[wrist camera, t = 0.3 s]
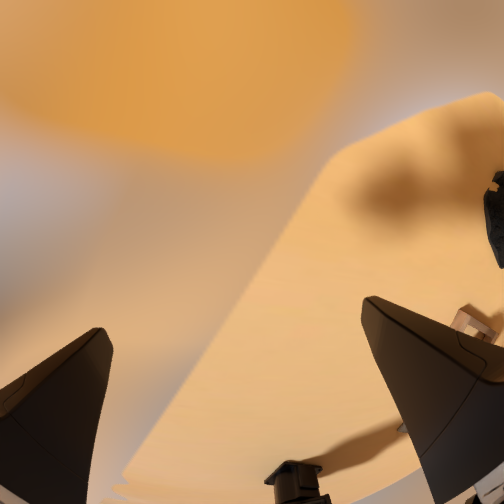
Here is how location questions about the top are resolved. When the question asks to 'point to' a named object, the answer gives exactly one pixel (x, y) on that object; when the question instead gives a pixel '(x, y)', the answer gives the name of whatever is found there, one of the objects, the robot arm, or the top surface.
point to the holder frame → (464, 319)
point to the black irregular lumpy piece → (496, 218)
